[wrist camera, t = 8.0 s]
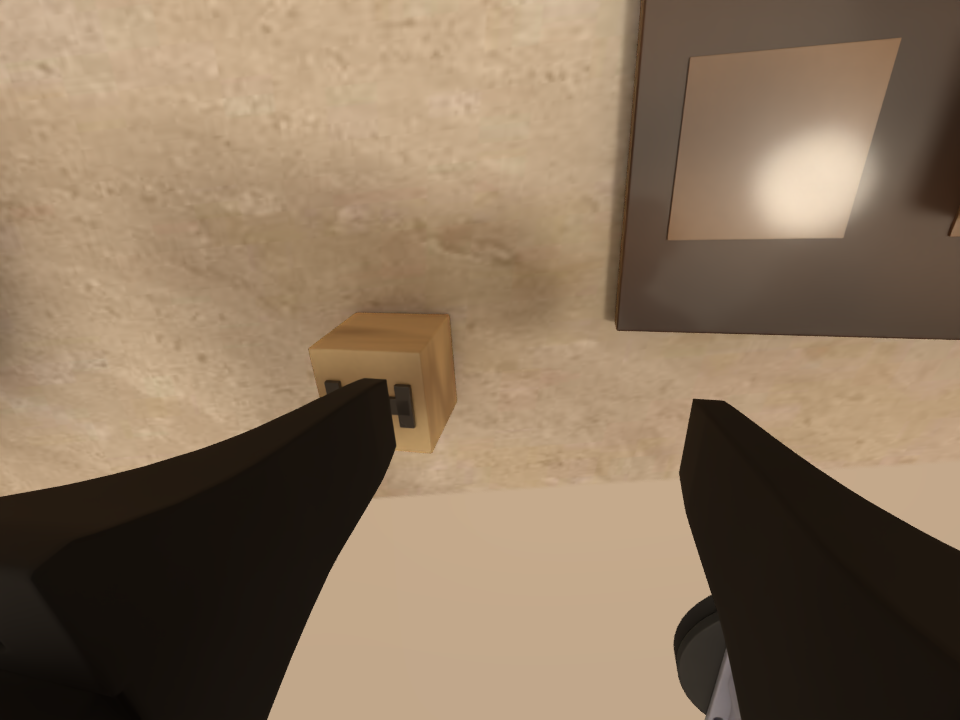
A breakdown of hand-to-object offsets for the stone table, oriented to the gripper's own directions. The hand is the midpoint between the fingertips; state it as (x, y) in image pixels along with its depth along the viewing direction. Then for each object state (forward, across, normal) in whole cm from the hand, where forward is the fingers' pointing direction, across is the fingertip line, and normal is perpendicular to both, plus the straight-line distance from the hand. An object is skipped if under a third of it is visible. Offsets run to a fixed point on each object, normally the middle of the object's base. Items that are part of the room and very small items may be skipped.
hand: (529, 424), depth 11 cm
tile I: (+8, +6, +3) cm, 11 cm away
